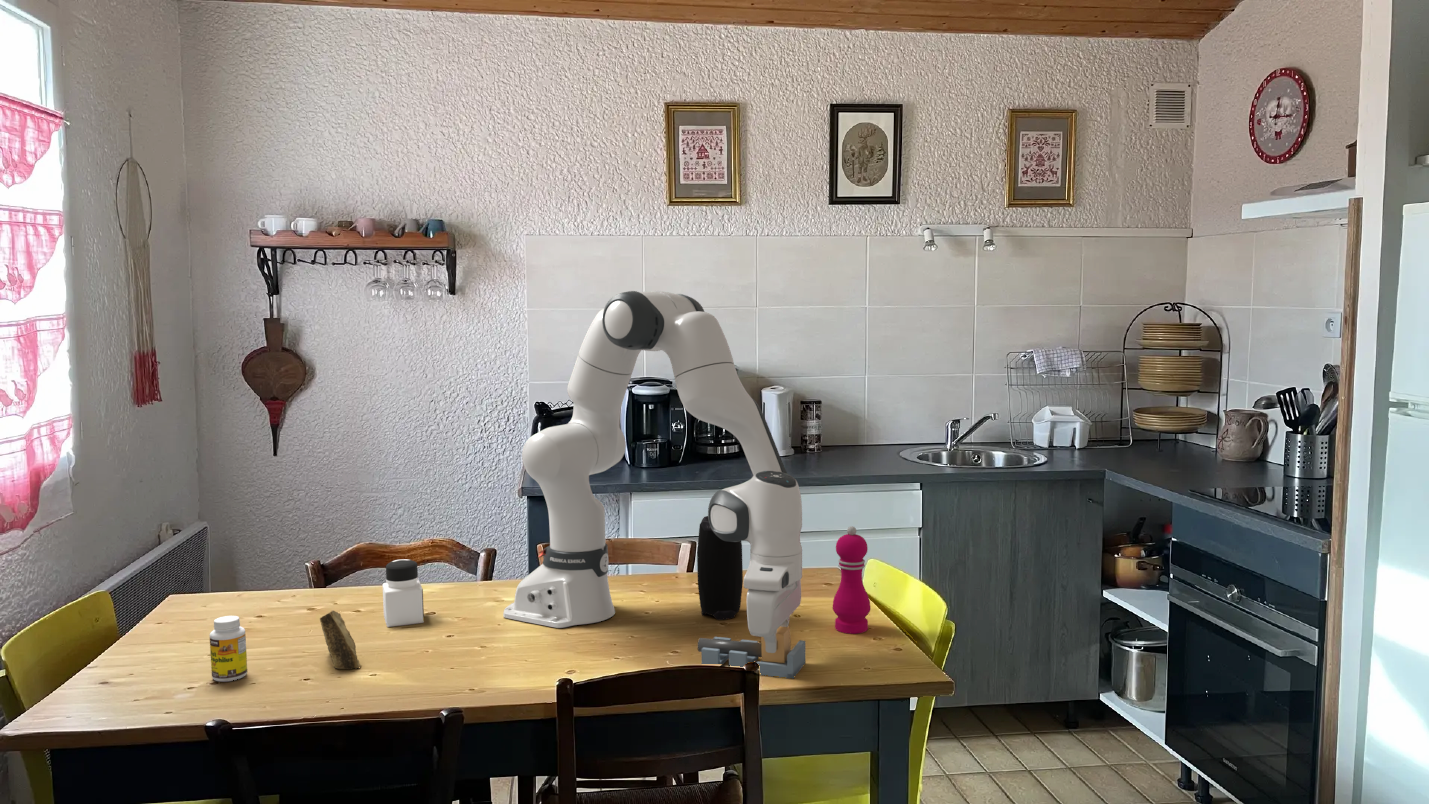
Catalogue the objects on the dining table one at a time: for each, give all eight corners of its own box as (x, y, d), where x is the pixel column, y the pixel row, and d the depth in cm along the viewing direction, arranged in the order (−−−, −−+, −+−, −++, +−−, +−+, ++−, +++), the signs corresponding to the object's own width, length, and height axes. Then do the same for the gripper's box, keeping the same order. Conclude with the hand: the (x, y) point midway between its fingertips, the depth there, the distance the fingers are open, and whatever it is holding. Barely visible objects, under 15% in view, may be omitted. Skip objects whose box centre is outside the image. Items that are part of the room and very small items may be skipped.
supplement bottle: (204, 682, 178) (201, 623, 177) (225, 670, 183) (221, 613, 182) (235, 683, 177) (231, 624, 176) (254, 672, 182) (251, 614, 181)
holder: (753, 674, 179) (753, 651, 178) (767, 658, 186) (766, 636, 186) (793, 678, 176) (793, 655, 176) (805, 663, 184) (805, 640, 183)
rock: (315, 639, 193) (294, 649, 183) (343, 600, 193) (325, 609, 183) (362, 674, 193) (345, 686, 183) (391, 636, 193) (375, 646, 183)
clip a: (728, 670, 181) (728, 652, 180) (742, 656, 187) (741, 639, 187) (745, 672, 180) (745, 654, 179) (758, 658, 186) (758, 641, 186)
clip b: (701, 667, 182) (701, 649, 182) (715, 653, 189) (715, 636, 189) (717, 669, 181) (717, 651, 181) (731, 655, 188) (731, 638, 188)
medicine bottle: (424, 623, 209) (421, 563, 208) (386, 627, 206) (384, 567, 205) (420, 613, 215) (417, 555, 214) (383, 617, 213) (381, 559, 212)
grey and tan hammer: (696, 655, 184) (695, 627, 184) (704, 647, 188) (703, 620, 187) (784, 663, 179) (783, 634, 178) (790, 655, 183) (790, 627, 182)
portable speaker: (750, 611, 214) (750, 516, 212) (724, 624, 206) (724, 525, 204) (715, 605, 219) (715, 512, 217) (689, 616, 211) (688, 520, 209)
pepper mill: (869, 635, 198) (869, 531, 196) (830, 633, 200) (830, 529, 197) (871, 624, 205) (872, 522, 203) (834, 622, 207) (834, 521, 204)
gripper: (775, 551, 190) (776, 626, 192) (739, 581, 171) (740, 663, 173) (809, 554, 188) (809, 629, 190) (777, 584, 169) (777, 668, 171)
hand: (776, 646), depth 181 cm, fingers open, 4 cm apart
